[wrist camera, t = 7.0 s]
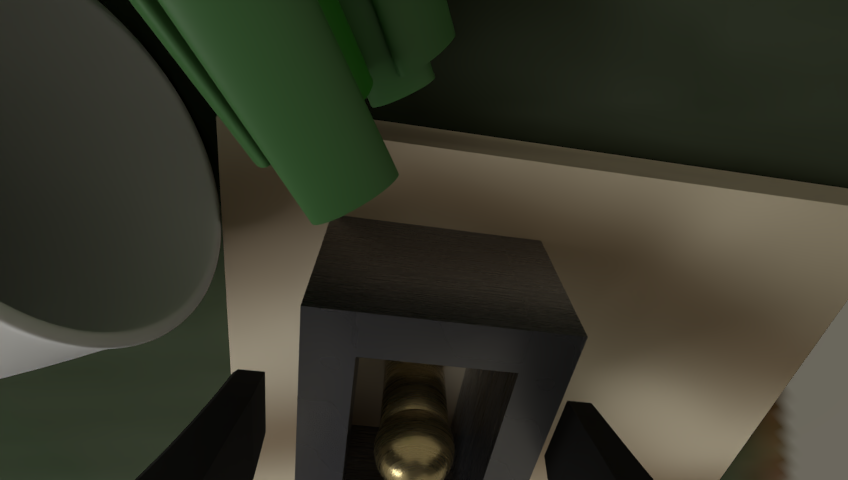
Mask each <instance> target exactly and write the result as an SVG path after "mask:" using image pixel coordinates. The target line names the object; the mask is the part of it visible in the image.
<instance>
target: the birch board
mask: <svg viewBox="0 0 848 480" xmlns="http://www.w3.org/2000/svg"><path fill="white" fill-rule="evenodd" d="M374 122H375V124H376V126H377V128H378V130H379V132H380V134H381V136H382V139H383V141H384V143H385V145H386V147H387V149H388V151H389V154H390V156H391V158H392V160H393V162H394V164H395V166H396V168H397V171H398V173H399V176H398V178H397V179H396V180H395V181H394V182H393V183H392V184H391V185H390V186H389V187H388V188H387V189H386V190H384V191H383V192H382V193H380V194H379V195H378V196H376V197H375V198H373V199H372V200H370V201H369V202H367V203H365V204H364V205H362V206H361V207H359V208H357V209H355V210H353V211H352V212H350V213H348V214H346V215H344V216H350V217H358V218H365V219H373V220H381V221H389V222H397V223H405V224H413V225H421V226H429V227H437V228H445V229H453V230H460V231H468V232H476V233H484V234H492V235H500V236H508V237H516V238H524V239H532V240H540V241H541V242H542V244H543V246H544V248H545V250H546V252H547V254H548V256H549V258H550V260H551V262H552V264H553V266H554V268H555V270H556V273H557V275H558V277H559V279H560V281H561V283H562V285H563V287H564V289H565V291H566V293H567V295H568V297H569V299H570V301H571V303H572V305H573V308H574V310H575V312H576V314H577V316H578V318H579V320H580V322H581V324H582V326H583V328H584V330H585V332H586V334H587V336H588V338H587V340H586V343H585V345H584V348H583V350H582V353H581V355H580V358H579V360H578V362H577V365H576V367H575V370H574V372H573V375H572V377H571V380H570V382H569V384H568V387H567V389H566V392H565V394H564V397H563V399H562V402H561V404H560V406H559V409H558V411H557V414H556V416H555V419H554V421H553V424H552V426H551V428H550V431H549V433H548V436H547V438H546V441H545V443H544V446H543V448H542V450H541V453H540V455H539V458H538V460H537V463H536V465H535V468H534V470H533V472H532V475H531V477H530V480H548V478H547V471H546V464H545V458H544V455H545V453H546V450H547V448H548V445H549V443H550V441H551V438H552V436H553V433H554V431H555V429H556V426H557V424H558V421H559V419H560V417H561V414H562V412H563V409H564V407H565V405H566V402H567V401H577V402H587V403H592V404H593V406H594V407H595V408H596V409H597V410H598V412H599V413H600V414H601V415H602V417H603V418H604V419H605V420H606V422H607V423H608V424H609V425H610V427H611V428H612V429H613V430H614V432H615V433H616V434H617V435H618V437H619V438H620V439H621V440H622V442H623V443H624V444H625V445H626V446H627V448H628V449H629V450H630V451H631V453H632V454H633V455H634V456H635V458H636V459H637V460H638V461H639V462H640V464H641V465H642V466H643V467H644V469H645V470H646V471H647V472H648V473H649V475H650V476H651V477H652V478H653V479H654V480H720V478H721V477H722V475H723V474H724V473H725V471H726V470H727V468H728V467H729V466H730V464H731V463H732V461H733V460H734V459H735V457H736V456H737V454H738V453H739V452H740V450H741V449H742V447H743V446H744V445H745V443H746V442H747V440H748V439H749V438H750V436H751V435H752V433H753V432H754V431H755V429H756V428H757V426H758V425H759V423H760V422H761V421H762V419H763V418H764V416H765V415H766V414H767V412H768V411H769V409H770V408H771V407H772V405H773V404H774V402H775V401H776V400H777V398H778V397H779V395H780V394H781V393H782V391H783V390H784V388H785V387H786V386H787V384H788V383H789V381H790V380H791V379H792V377H793V376H794V374H795V373H796V372H797V370H798V369H799V367H800V366H801V364H802V363H803V362H804V360H805V358H806V357H807V356H808V355H809V353H810V352H811V350H812V349H813V348H814V346H815V345H816V344H817V342H818V341H819V339H820V338H821V336H822V335H823V334H824V332H825V331H826V329H827V328H828V326H829V325H830V324H831V322H832V321H833V320H834V318H835V317H836V315H837V314H838V313H839V311H840V310H841V308H842V307H843V306H844V304H845V303H846V301H847V300H848V188H841V187H834V186H827V185H820V184H814V183H807V182H800V181H793V180H786V179H779V178H772V177H765V176H759V175H752V174H745V173H738V172H731V171H724V170H717V169H710V168H704V167H697V166H690V165H683V164H676V163H669V162H662V161H655V160H649V159H642V158H635V157H628V156H621V155H614V154H607V153H600V152H594V151H587V150H580V149H573V148H566V147H559V146H552V145H545V144H539V143H532V142H525V141H518V140H511V139H504V138H497V137H490V136H484V135H477V134H470V133H463V132H456V131H449V130H442V129H435V128H429V127H422V126H415V125H408V124H401V123H394V122H387V121H380V120H374ZM216 125H217V142H218V159H219V177H220V194H221V211H222V228H223V245H224V262H225V279H226V296H227V313H228V330H229V347H230V365H231V374H232V373H233V372H234V371H236V370H237V369H242V370H252V371H263V372H265V407H266V433H265V437H264V441H263V445H262V449H261V453H260V457H259V460H258V464H257V468H256V471H255V475H254V478H253V480H295V456H296V426H297V396H298V366H299V336H300V306H301V303H302V300H303V297H304V294H305V291H306V288H307V285H308V283H309V280H310V277H311V274H312V271H313V268H314V265H315V262H316V259H317V256H318V254H319V251H320V248H321V245H322V242H323V239H324V236H325V233H326V230H327V227H328V224H329V222H327V223H324V224H321V225H313V224H311V222H310V221H309V219H308V218H307V216H306V215H305V213H304V212H303V211H302V209H301V208H300V206H299V205H298V203H297V202H296V200H295V199H294V197H293V196H292V195H291V193H290V192H289V190H288V189H287V187H286V186H285V184H284V183H283V182H282V180H281V179H280V177H279V176H278V174H277V173H276V171H275V170H274V168H273V167H272V166H271V165H269V166H268V167H265V168H261V167H258V166H257V165H256V164H255V163H254V162H253V161H252V160H251V158H250V157H249V156H248V154H247V153H246V152H245V150H244V149H243V148H242V147H241V145H240V144H239V143H238V141H237V140H236V139H235V137H234V136H233V135H232V134H231V132H230V131H229V130H228V128H227V127H226V126H225V124H224V123H223V122H222V121H221V119H220V118H219V117H218V115H217V116H216ZM384 367H385V360H382V359H372V358H362V357H359V365H358V374H357V383H356V392H355V400H354V409H353V418H352V425H363V426H374V427H380V421H381V408H382V394H383V381H384ZM465 370H466V368H462V367H452V366H444V374H445V386H446V399H447V412H448V425H449V428H451V424H452V420H453V416H454V412H455V408H456V405H457V401H458V397H459V393H460V389H461V385H462V382H463V378H464V374H465Z"/></svg>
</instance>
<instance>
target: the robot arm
mask: <svg viewBox="0 0 848 480" xmlns="http://www.w3.org/2000/svg"><path fill="white" fill-rule="evenodd" d="M265 433H266V407H265V372H263V371H252V370H242V369H237V370H236V371H234V372H233V373H232V374H231V376H230V377H229V378H228V379H227V381H226V382H225V383H224V384H223V386H222V387H221V388H220V389H219V391H218V392H217V393H216V394H215V395H214V397H213V398H212V399H211V400H210V401H209V402H208V404H207V405H206V406H205V407H204V408H203V409H202V410H201V412H200V413H199V414H198V415H197V416H196V417H195V418H194V420H193V421H192V422H191V423H190V424H189V425H188V426H187V427H186V428H185V429H184V430H183V431H182V432H181V434H180V435H179V436H178V437H177V438H176V439H175V440H174V441H173V442H172V443H171V444H170V445H169V446H168V447H167V448H166V450H165V451H164V452H163V453H162V454H161V455H160V456H159V457H158V458H157V459H156V460H155V461H154V462H152V463H151V464H150V465H149V466H148V467H147V468H146V469H145V470H144V471H143V472H142V473H141V474H140V475H139V476H138V477H137V478H136V479H135V480H253V478H254V475H255V471H256V468H257V464H258V460H259V457H260V453H261V449H262V445H263V441H264V437H265ZM544 458H545V464H546V471H547V478H548V480H654V479H653V478H652V477H651V476H650V475H649V473H648V472H647V471H646V470H645V469H644V467H643V466H642V465H641V464H640V462H639V461H638V460H637V459H636V458H635V456H634V455H633V454H632V453H631V451H630V450H629V449H628V448H627V446H626V445H625V444H624V443H623V442H622V440H621V439H620V438H619V437H618V435H617V434H616V433H615V432H614V430H613V429H612V428H611V427H610V425H609V424H608V423H607V422H606V420H605V419H604V418H603V417H602V415H601V414H600V413H599V412H598V410H597V409H596V408H595V407H594V406H593V404H592V403H587V402H577V401H567V402H566V405H565V407H564V409H563V412H562V414H561V417H560V419H559V421H558V424H557V426H556V429H555V431H554V433H553V436H552V438H551V441H550V443H549V445H548V448H547V450H546V453H545V455H544Z"/></svg>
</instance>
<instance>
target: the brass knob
mask: <svg viewBox="0 0 848 480" xmlns="http://www.w3.org/2000/svg"><path fill="white" fill-rule="evenodd" d="M454 454H455V444H454V439H453V435H452V432H451V430H450V428H449V425H448V412H447V399H446V386H445V374H444V366H442V365H432V364H422V363H412V362H402V361H392V360H385V367H384V381H383V394H382V408H381V421H380V428H379V430H378V432H377V435H376V438H375V443H374V457H375V462H376V465H377V468H378V470H379V472H380V474H381V476H382V477H383V479H384V480H444V479H445V478H446V476H447V475H448V473H449V471H450V469H451V467H452V464H453V461H454Z"/></svg>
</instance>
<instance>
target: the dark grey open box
mask: <svg viewBox="0 0 848 480" xmlns="http://www.w3.org/2000/svg"><path fill="white" fill-rule="evenodd" d="M587 338H588V336H587V334H586V332H585V330H584V328H583V326H582V324H581V322H580V320H579V318H578V316H577V314H576V312H575V310H574V308H573V305H572V303H571V301H570V299H569V297H568V295H567V293H566V291H565V289H564V287H563V285H562V283H561V281H560V279H559V277H558V275H557V273H556V270H555V268H554V266H553V264H552V262H551V260H550V258H549V256H548V254H547V252H546V250H545V248H544V246H543V244H542V242H541V241H540V240H532V239H524V238H516V237H508V236H500V235H492V234H484V233H476V232H468V231H460V230H453V229H445V228H437V227H429V226H421V225H413V224H405V223H397V222H389V221H381V220H373V219H365V218H358V217H350V216H342V217H340V218H337V219H335V220H333V221H330V222H329V224H328V227H327V230H326V233H325V236H324V239H323V242H322V245H321V248H320V251H319V254H318V256H317V259H316V262H315V265H314V268H313V271H312V274H311V277H310V280H309V283H308V285H307V288H306V291H305V294H304V297H303V300H302V303H301V306H300V336H299V366H298V396H297V426H296V456H295V480H384V479H383V477H382V476H381V474H380V472H379V470H378V468H377V465H376V462H375V457H374V443H375V438H376V435H377V432H378V430H379V428H380V427H374V426H363V425H352V418H353V409H354V400H355V392H356V383H357V374H358V365H359V357H362V358H372V359H382V360H392V361H402V362H412V363H422V364H432V365H442V366H452V367H462V368H466V370H465V374H464V378H463V382H462V385H461V389H460V393H459V397H458V401H457V405H456V408H455V412H454V416H453V420H452V424H451V428H450V430H451V432H452V435H453V439H454V444H455V454H454V461H453V464H452V467H451V469H450V471H449V473H448V475H447V476H446V478H445V479H444V480H530V477H531V475H532V472H533V470H534V468H535V465H536V463H537V460H538V458H539V455H540V453H541V450H542V448H543V446H544V443H545V441H546V438H547V436H548V433H549V431H550V428H551V426H552V424H553V421H554V419H555V416H556V414H557V411H558V409H559V406H560V404H561V402H562V399H563V397H564V394H565V392H566V389H567V387H568V384H569V382H570V380H571V377H572V375H573V372H574V370H575V367H576V365H577V362H578V360H579V358H580V355H581V353H582V350H583V348H584V345H585V343H586V340H587Z"/></svg>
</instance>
